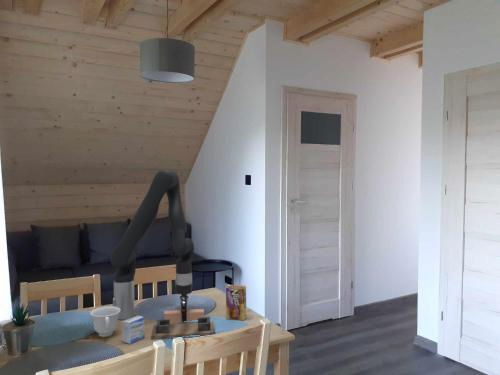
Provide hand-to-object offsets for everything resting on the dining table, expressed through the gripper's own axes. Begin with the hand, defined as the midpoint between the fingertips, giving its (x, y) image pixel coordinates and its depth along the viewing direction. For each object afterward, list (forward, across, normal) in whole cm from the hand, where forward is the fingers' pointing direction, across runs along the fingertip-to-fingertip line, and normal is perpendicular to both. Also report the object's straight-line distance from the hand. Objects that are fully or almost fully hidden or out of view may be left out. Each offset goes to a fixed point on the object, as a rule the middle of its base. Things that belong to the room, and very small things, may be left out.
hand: (184, 319), depth 188 cm
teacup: (+1, +12, -32) cm, 34 cm away
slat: (+1, 0, 0) cm, 1 cm away
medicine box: (+1, +18, -20) cm, 27 cm away
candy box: (+1, 0, +24) cm, 24 cm away
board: (+1, +13, 0) cm, 13 cm away
